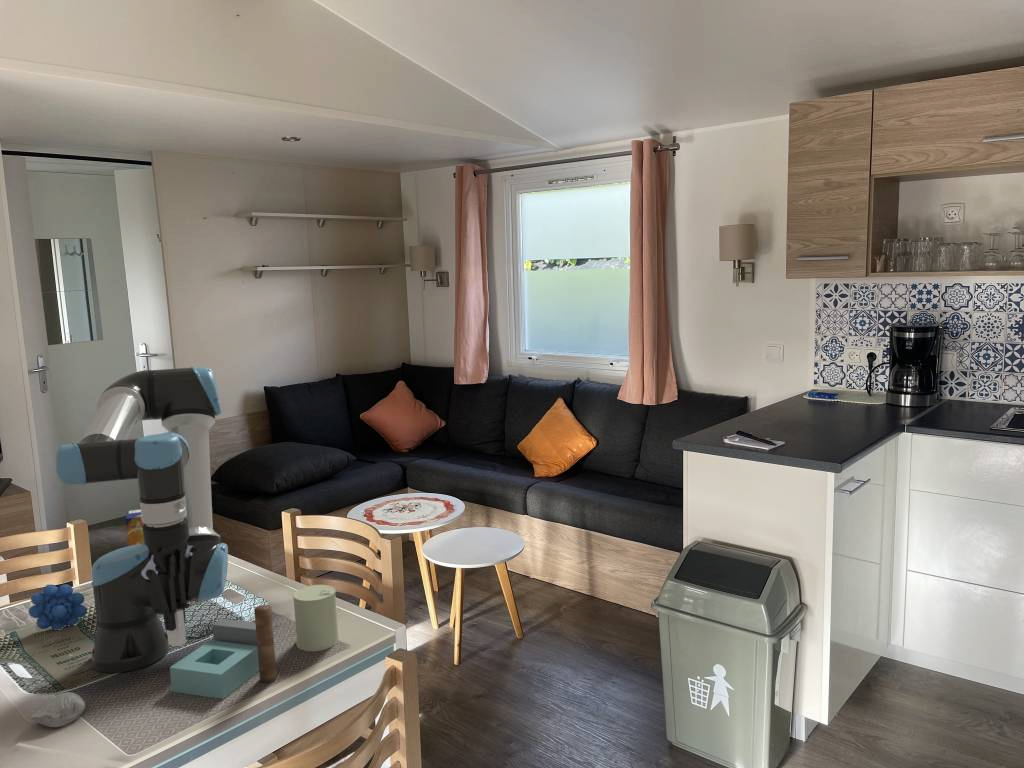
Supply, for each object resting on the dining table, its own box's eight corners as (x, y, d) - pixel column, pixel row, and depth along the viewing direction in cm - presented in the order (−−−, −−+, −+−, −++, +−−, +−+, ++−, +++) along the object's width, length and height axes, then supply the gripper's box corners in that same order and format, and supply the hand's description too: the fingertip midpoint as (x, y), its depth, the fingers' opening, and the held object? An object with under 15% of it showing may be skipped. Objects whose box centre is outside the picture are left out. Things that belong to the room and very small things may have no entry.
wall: (215, 660, 166) (212, 624, 165) (224, 653, 168) (221, 618, 167) (263, 666, 162) (260, 630, 161) (272, 660, 165) (269, 624, 164)
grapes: (33, 646, 176) (27, 595, 174) (30, 635, 181) (24, 586, 179) (91, 631, 182) (85, 582, 181) (87, 621, 188) (81, 574, 186)
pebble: (58, 736, 139) (55, 710, 139) (23, 730, 142) (20, 704, 141) (96, 710, 147) (93, 686, 147) (63, 705, 150) (60, 681, 149)
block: (171, 691, 153) (169, 667, 153) (212, 662, 165) (210, 640, 164) (223, 699, 150) (221, 674, 149) (260, 669, 161) (259, 646, 160)
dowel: (256, 682, 156) (250, 610, 154) (266, 674, 159) (260, 604, 157) (270, 684, 155) (264, 612, 153) (279, 676, 158) (274, 605, 156)
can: (328, 653, 167) (324, 599, 166) (288, 650, 169) (284, 597, 167) (345, 634, 176) (342, 583, 175) (308, 631, 178) (304, 581, 176)
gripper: (155, 534, 133) (168, 663, 137) (206, 511, 145) (217, 629, 149) (120, 531, 135) (134, 658, 139) (173, 508, 148) (185, 625, 151)
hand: (177, 643), depth 144 cm, fingers closed
